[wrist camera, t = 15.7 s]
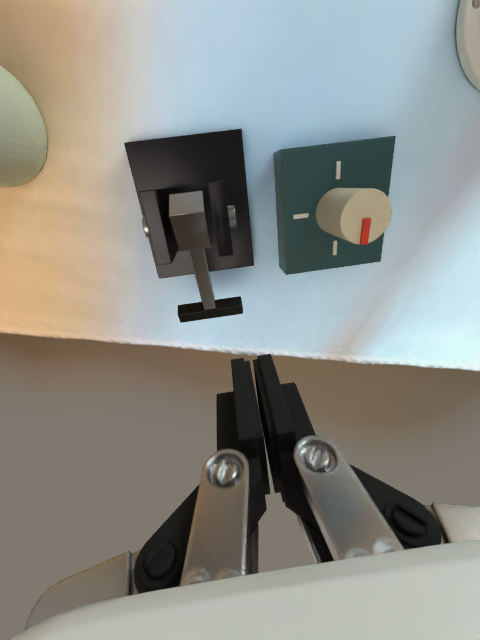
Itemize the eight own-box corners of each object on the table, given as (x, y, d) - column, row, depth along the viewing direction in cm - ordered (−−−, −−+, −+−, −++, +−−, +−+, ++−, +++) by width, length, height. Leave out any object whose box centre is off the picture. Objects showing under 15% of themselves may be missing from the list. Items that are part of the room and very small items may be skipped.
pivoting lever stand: (252, 261, 30) (274, 303, 20) (161, 274, 30) (134, 323, 19) (239, 131, 25) (261, 92, 14) (128, 145, 24) (67, 115, 14)
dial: (316, 189, 25) (344, 190, 20) (359, 185, 25) (398, 186, 20) (314, 235, 27) (339, 247, 21) (354, 231, 27) (389, 242, 22)
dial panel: (376, 140, 26) (397, 135, 23) (366, 254, 31) (381, 261, 28) (273, 153, 26) (281, 149, 23) (279, 267, 31) (286, 275, 28)
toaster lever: (240, 299, 27) (244, 318, 26) (180, 308, 27) (180, 328, 26) (231, 186, 18) (235, 206, 17) (139, 198, 18) (136, 219, 16)
